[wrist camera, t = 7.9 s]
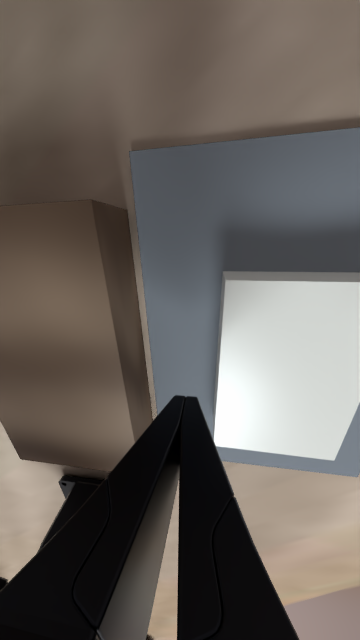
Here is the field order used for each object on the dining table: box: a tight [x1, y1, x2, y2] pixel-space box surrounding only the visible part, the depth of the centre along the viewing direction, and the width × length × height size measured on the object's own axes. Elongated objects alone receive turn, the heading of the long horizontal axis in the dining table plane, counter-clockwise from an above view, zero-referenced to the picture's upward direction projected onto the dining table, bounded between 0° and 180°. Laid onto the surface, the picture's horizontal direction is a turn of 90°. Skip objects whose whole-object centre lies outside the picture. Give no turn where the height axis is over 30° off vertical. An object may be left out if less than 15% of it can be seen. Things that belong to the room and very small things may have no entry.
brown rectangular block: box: [0, 200, 153, 472], centre depth 11 cm, size 14×8×3 cm, turn 2°
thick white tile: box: [213, 271, 360, 461], centre depth 10 cm, size 9×6×2 cm, turn 1°
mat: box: [129, 127, 360, 477], centre depth 11 cm, size 18×13×1 cm
